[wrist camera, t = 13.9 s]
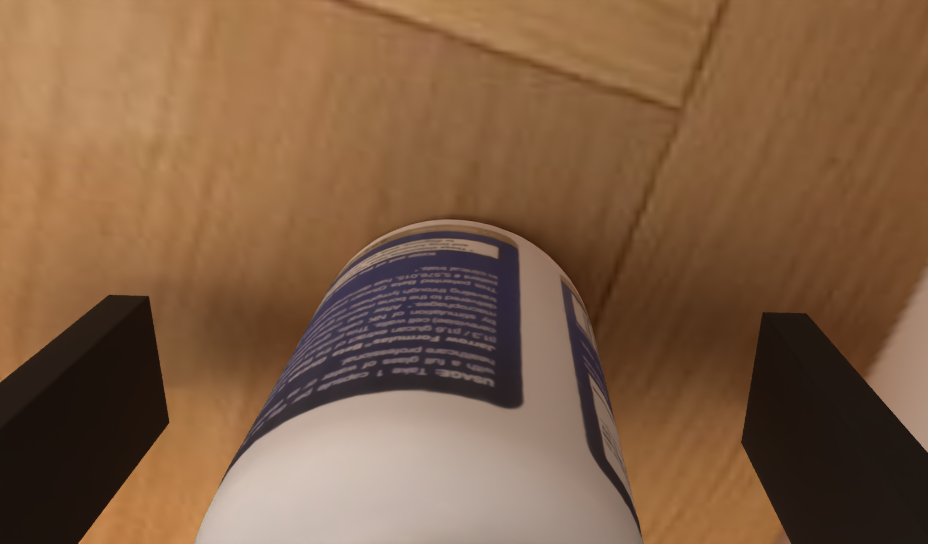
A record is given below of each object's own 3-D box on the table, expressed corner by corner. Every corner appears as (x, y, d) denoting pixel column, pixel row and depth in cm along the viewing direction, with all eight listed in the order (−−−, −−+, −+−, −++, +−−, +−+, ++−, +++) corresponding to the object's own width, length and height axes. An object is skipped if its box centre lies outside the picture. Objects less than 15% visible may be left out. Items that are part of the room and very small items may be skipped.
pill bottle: (273, 368, 16) (-56, 919, 6) (413, 156, 14) (230, 510, 5) (488, 497, 16) (464, 1141, 7) (648, 314, 15) (873, 869, 6)
